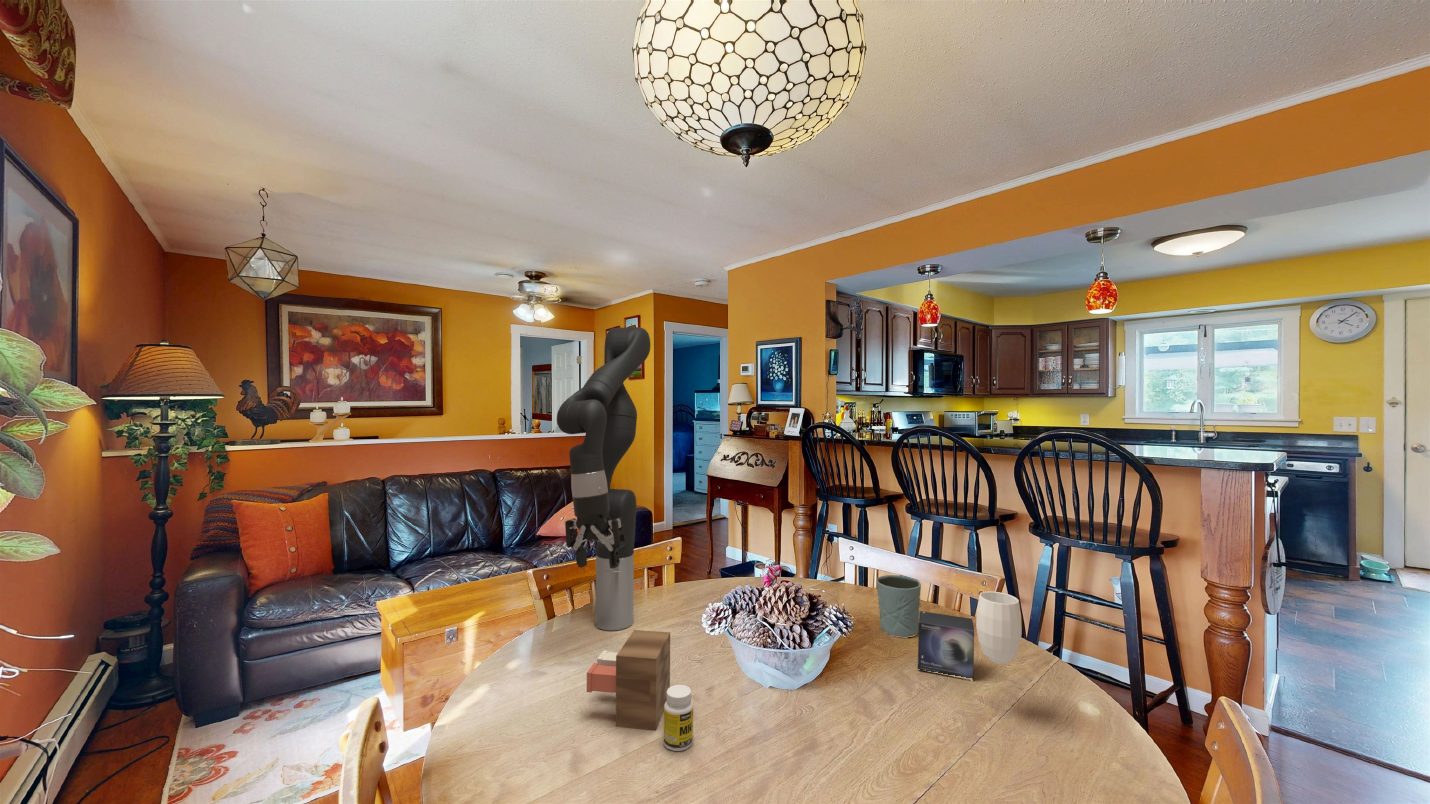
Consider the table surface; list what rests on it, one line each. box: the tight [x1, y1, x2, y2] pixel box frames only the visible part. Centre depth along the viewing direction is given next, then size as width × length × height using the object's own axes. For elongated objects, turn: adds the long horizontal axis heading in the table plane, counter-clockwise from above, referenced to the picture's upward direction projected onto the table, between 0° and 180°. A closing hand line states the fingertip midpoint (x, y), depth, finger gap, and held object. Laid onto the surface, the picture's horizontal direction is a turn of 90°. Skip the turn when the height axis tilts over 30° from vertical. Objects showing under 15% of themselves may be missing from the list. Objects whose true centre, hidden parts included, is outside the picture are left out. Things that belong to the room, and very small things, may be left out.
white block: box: [596, 649, 618, 667], centre depth 99 cm, size 3×8×3 cm, turn 82°
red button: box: [586, 662, 616, 694], centre depth 94 cm, size 3×8×3 cm, turn 82°
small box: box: [917, 610, 975, 679], centre depth 111 cm, size 11×6×10 cm, turn 68°
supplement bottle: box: [663, 684, 694, 752], centre depth 87 cm, size 5×5×8 cm
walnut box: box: [615, 629, 671, 731], centre depth 96 cm, size 10×7×12 cm
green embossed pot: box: [876, 574, 922, 637], centre depth 130 cm, size 10×10×12 cm
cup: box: [975, 591, 1023, 665], centre depth 96 cm, size 7×7×21 cm
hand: (598, 567), depth 116 cm, fingers open, 8 cm apart
